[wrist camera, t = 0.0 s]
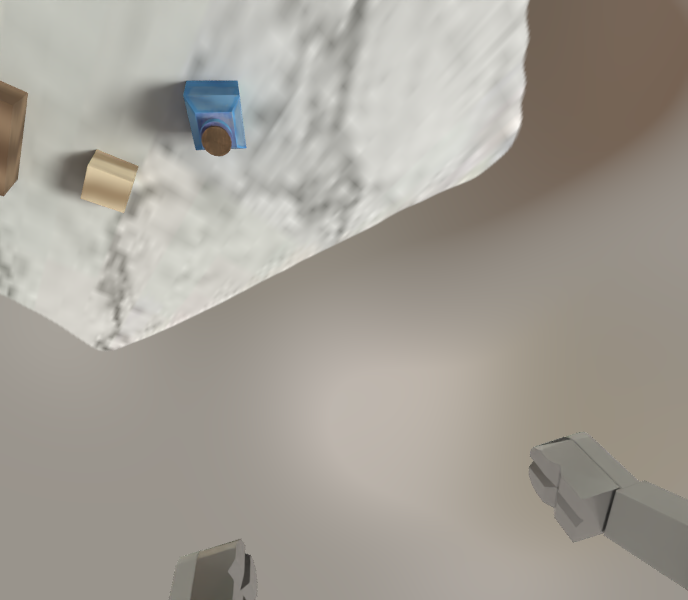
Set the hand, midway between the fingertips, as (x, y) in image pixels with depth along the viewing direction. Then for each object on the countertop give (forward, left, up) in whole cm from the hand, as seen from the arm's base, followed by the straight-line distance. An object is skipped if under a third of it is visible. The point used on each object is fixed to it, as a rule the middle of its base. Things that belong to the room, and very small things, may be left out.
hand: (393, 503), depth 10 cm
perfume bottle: (+7, -2, -52) cm, 53 cm away
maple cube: (+22, -11, -52) cm, 58 cm away
